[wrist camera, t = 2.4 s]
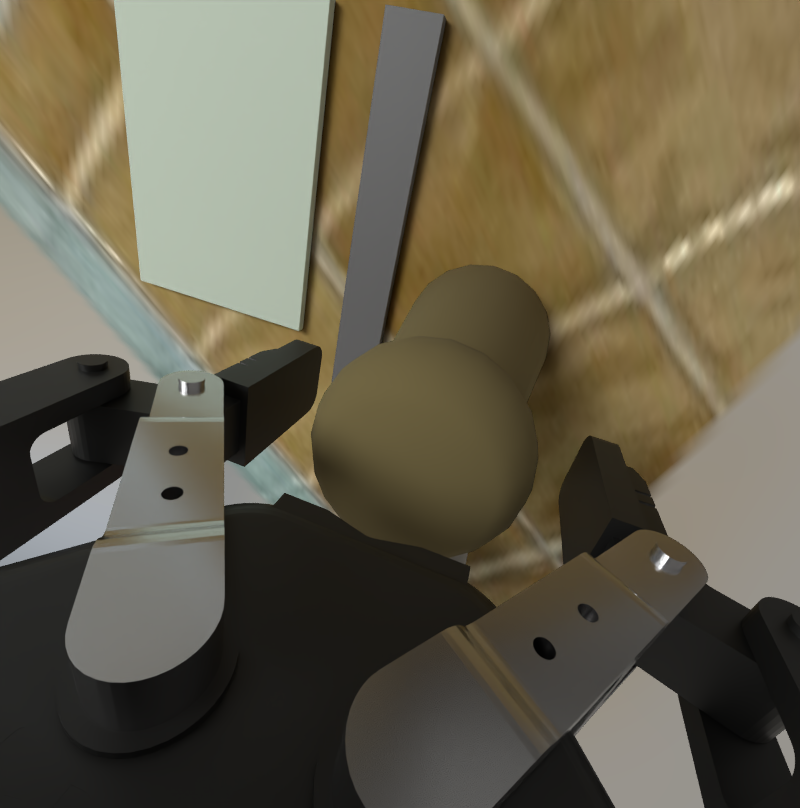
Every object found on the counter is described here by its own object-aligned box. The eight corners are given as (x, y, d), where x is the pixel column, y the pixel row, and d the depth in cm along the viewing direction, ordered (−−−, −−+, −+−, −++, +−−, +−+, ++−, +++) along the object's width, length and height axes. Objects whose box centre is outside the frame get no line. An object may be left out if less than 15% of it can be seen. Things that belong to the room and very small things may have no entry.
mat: (119, -37, 16) (110, -43, 15) (335, 0, 14) (330, -5, 14) (147, 279, 21) (140, 280, 21) (302, 328, 20) (298, 331, 20)
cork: (582, 316, 16) (644, 475, 7) (495, 426, 19) (451, 642, 10) (451, 234, 16) (328, 277, 7) (385, 356, 19) (236, 503, 10)
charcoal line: (389, 9, 14) (385, 4, 14) (446, 19, 14) (443, 14, 13) (330, 412, 22) (327, 415, 21) (365, 424, 21) (362, 428, 21)
